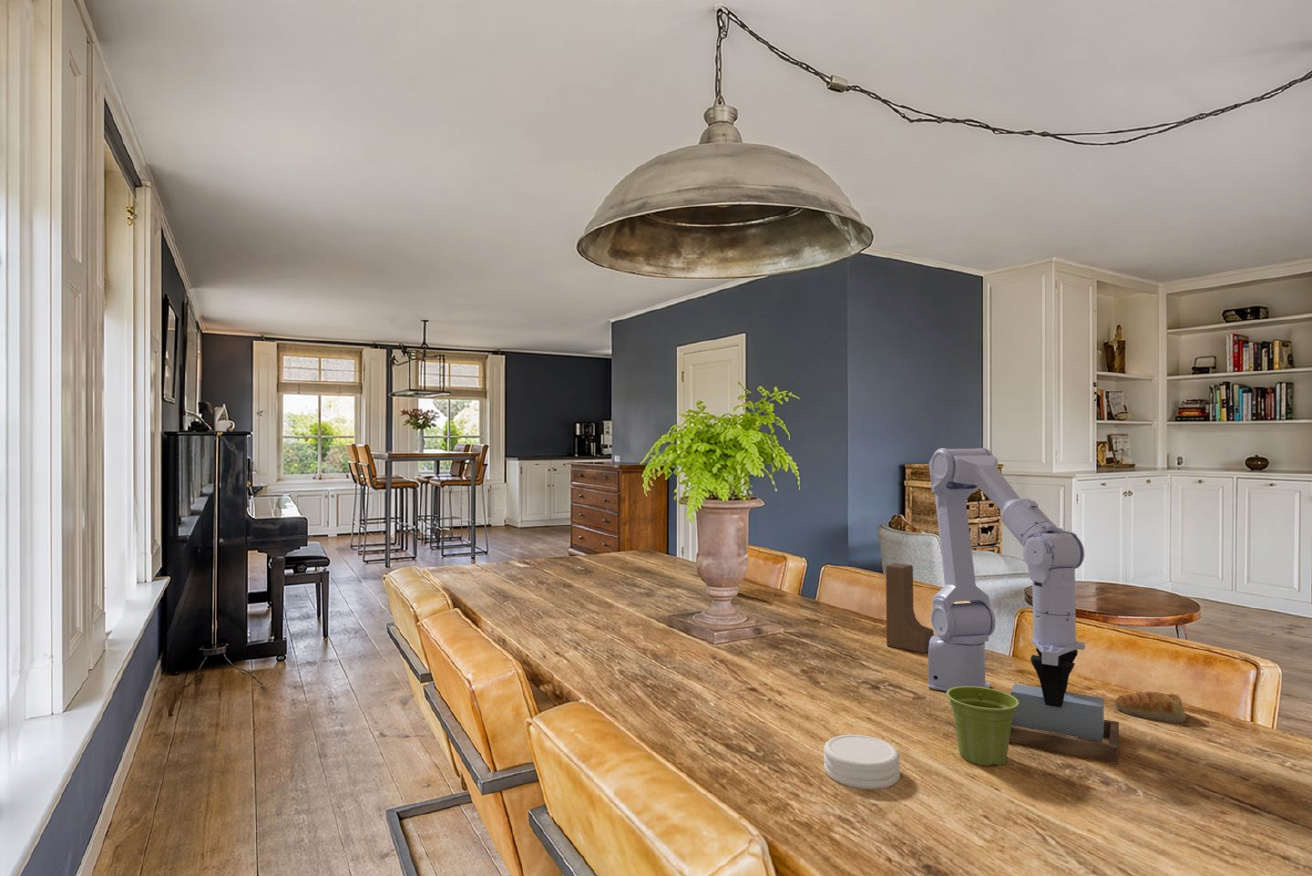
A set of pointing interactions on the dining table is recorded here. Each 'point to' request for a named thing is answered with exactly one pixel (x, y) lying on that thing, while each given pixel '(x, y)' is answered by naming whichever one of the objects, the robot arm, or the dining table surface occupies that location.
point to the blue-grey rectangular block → (1060, 713)
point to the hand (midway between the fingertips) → (1055, 700)
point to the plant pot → (982, 723)
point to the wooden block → (903, 611)
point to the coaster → (861, 761)
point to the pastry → (1152, 706)
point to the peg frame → (1071, 742)
